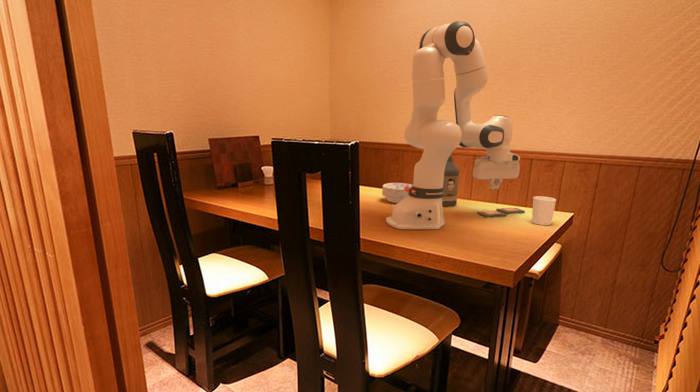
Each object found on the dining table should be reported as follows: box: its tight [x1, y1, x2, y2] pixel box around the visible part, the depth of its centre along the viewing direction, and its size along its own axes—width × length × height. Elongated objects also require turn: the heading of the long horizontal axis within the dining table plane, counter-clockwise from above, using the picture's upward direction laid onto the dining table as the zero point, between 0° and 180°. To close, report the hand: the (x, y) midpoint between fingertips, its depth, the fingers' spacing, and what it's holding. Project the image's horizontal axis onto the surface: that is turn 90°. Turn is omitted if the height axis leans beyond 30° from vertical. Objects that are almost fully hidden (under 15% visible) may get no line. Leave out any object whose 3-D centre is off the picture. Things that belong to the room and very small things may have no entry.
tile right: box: [495, 207, 526, 215], centre depth 162 cm, size 10×6×1 cm, turn 106°
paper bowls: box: [382, 182, 413, 204], centre depth 177 cm, size 15×15×8 cm
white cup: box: [531, 195, 557, 226], centre depth 145 cm, size 8×8×10 cm
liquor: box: [442, 150, 460, 208], centre depth 170 cm, size 9×9×30 cm
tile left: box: [476, 210, 508, 219], centre depth 156 cm, size 10×6×1 cm, turn 106°
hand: (494, 189), depth 154 cm, fingers closed
